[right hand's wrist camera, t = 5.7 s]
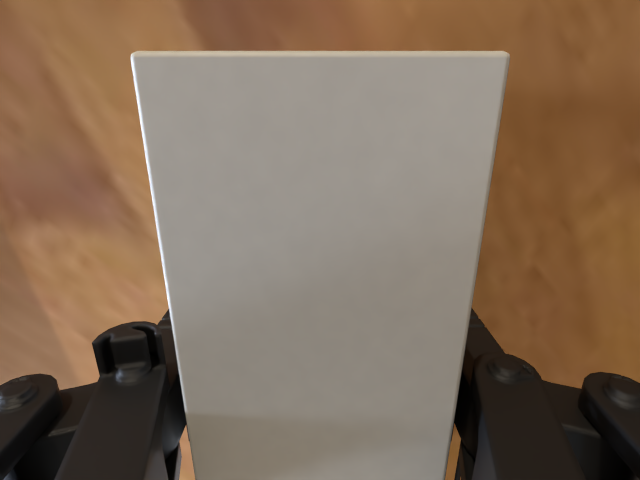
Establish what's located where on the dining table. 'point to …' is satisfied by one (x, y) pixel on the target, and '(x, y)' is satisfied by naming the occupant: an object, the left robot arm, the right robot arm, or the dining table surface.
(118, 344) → the right robot arm
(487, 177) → the post
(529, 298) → the dining table surface
